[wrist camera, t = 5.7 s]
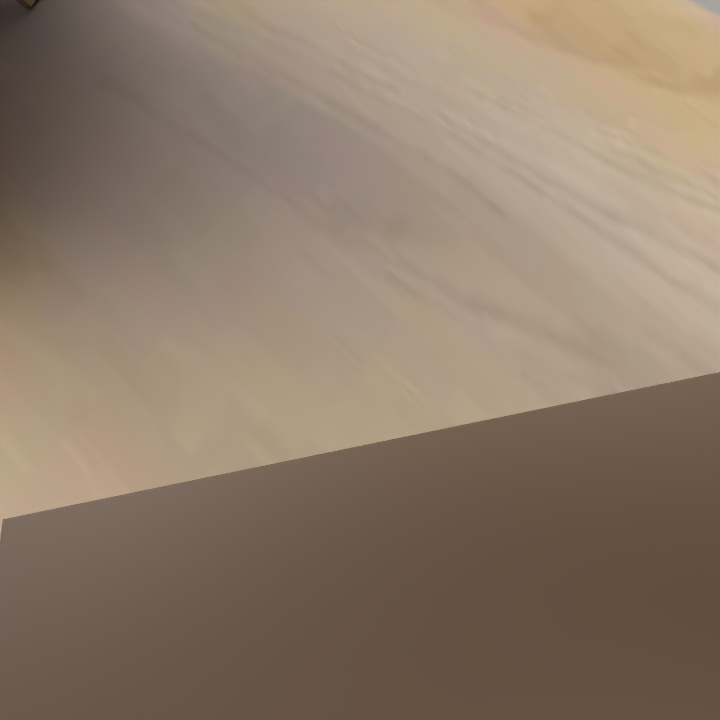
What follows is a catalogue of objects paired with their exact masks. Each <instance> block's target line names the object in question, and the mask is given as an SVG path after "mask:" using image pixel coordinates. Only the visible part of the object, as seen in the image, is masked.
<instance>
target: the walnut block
mask: <svg viewBox="0 0 720 720" xmlns="http://www.w3.org/2000/svg"><path fill="white" fill-rule="evenodd" d="M0 720H720V372H719V373H714V374H709V375H704V376H699V377H694V378H690V379H685V380H680V381H675V382H670V383H665V384H660V385H655V386H651V387H646V388H641V389H636V390H631V391H626V392H621V393H616V394H612V395H607V396H602V397H597V398H592V399H587V400H582V401H578V402H573V403H568V404H563V405H558V406H553V407H548V408H543V409H539V410H534V411H529V412H524V413H519V414H514V415H509V416H504V417H500V418H495V419H490V420H485V421H480V422H475V423H470V424H466V425H461V426H456V427H451V428H446V429H441V430H436V431H431V432H427V433H422V434H417V435H412V436H407V437H402V438H397V439H392V440H388V441H383V442H378V443H373V444H368V445H363V446H358V447H354V448H349V449H344V450H339V451H334V452H329V453H324V454H319V455H315V456H310V457H305V458H300V459H295V460H290V461H285V462H280V463H276V464H271V465H266V466H261V467H256V468H251V469H246V470H242V471H237V472H232V473H227V474H222V475H217V476H212V477H207V478H203V479H198V480H193V481H188V482H183V483H178V484H173V485H168V486H164V487H159V488H154V489H149V490H144V491H139V492H134V493H130V494H125V495H120V496H115V497H110V498H105V499H100V500H95V501H91V502H86V503H81V504H76V505H71V506H66V507H61V508H56V509H52V510H47V511H42V512H37V513H32V514H27V515H22V516H18V517H13V518H8V519H3V523H2V531H1V540H0Z"/></svg>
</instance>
